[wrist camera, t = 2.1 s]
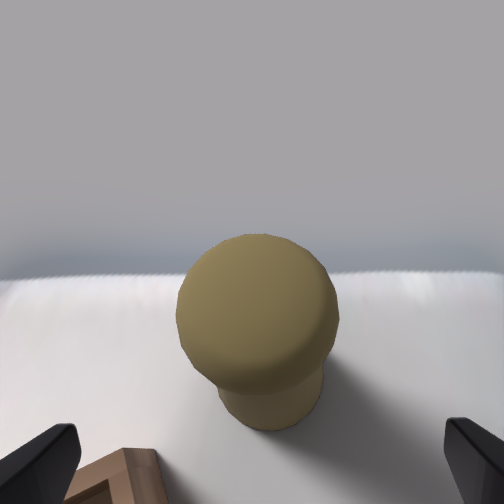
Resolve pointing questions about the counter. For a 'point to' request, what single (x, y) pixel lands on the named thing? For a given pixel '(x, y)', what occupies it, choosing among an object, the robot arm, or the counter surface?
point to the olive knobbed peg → (259, 327)
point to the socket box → (119, 480)
